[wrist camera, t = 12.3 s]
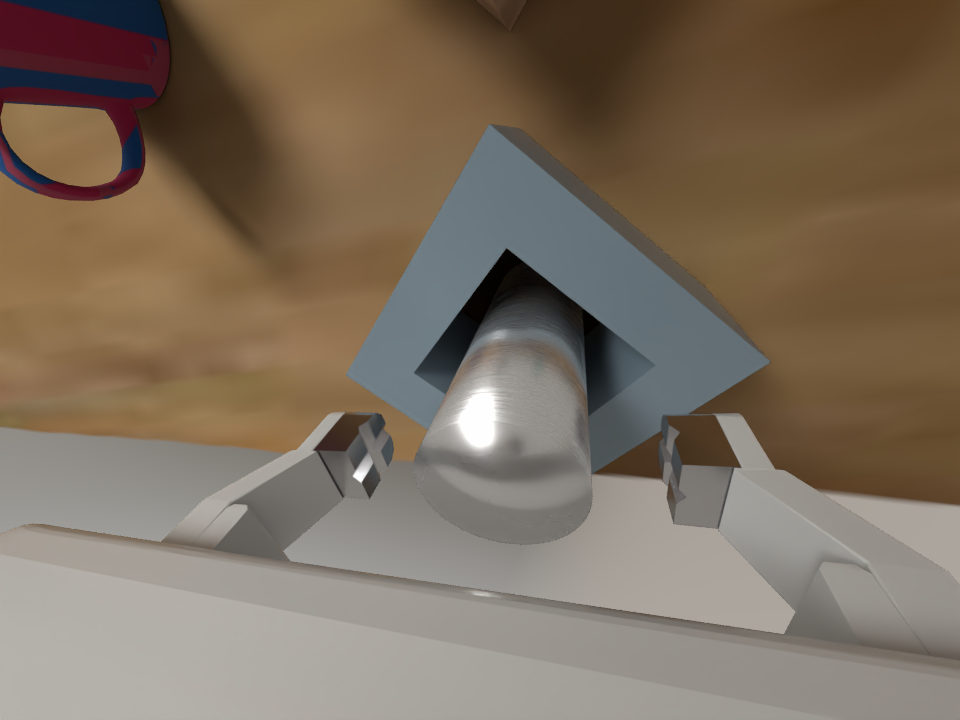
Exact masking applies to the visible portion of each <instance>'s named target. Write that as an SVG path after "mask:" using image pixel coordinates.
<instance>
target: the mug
mask: <svg viewBox="0 0 960 720" xmlns="http://www.w3.org/2000/svg"><path fill="white" fill-rule="evenodd" d="M169 68H170V49H169V40H168V34H167V29H166V24H165V21H164V17H163V14H162V11H161V7H160V4H159V2H158V0H0V116H1V112H2V108H3V103H16V104H33V105H50V106H67V107H82V108H94V109H100V110H105V111H106V112H107V114H108V115H109V117H110V118H111V120H112V121H113V123H114V125H115V127H116V130H117V132H118V135H119V138H120V142H121V146H122V167H121V171H120V173H119V174H118V176H117V177H116V179H115V180H113V181H112V182H109V183H105V184H102V185H98V186H92V187H80V186H73V185H67V184H64V183H60V182H57V181H53V180H51V179H49V178H47V177H45V176H43V175H41V174H39V173H37V172H36V171H34V170H33V169H32V168H30V167H29V166H28V165H26V164H25V163H24V162H22V160H21V159H20V158H19V157H18V156H17V155H16V153H15V152H14V151H13V150H12V149H11V147H10V146H9V144H8V142H7V140H6V138H5V136H4V134H3V132H2V125H1V119H0V171H1V172H3V173H4V174H5V175H6V176H8V177H9V178H10V179H12V180H13V181H14V182H16V183H17V184H19V185H21V186H23V187H25V188H27V189H29V190H31V191H33V192H35V193H38V194H42V195H45V196H48V197H52V198H57V199H64V200H79V201H94V200H101V199H108V198H111V197H114V196H117V195H119V194H122V193H124V192H125V191H127V190H129V189H130V188H132V187H133V186H135V185H136V184H138V182H139V180H140V178H141V176H142V174H143V172H144V167H145V146H144V139H143V135H142V131H141V127H140V123H139V120H138V117H137V115H136V112H135V110H138V109H143V108H146V107H148V106H150V105H152V104H154V103H155V102H156V101H157V99H158V98H159V97H160V96H161V94H162V92H163V90H164V88H165V86H166V84H167V80H168V76H169Z"/></svg>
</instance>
